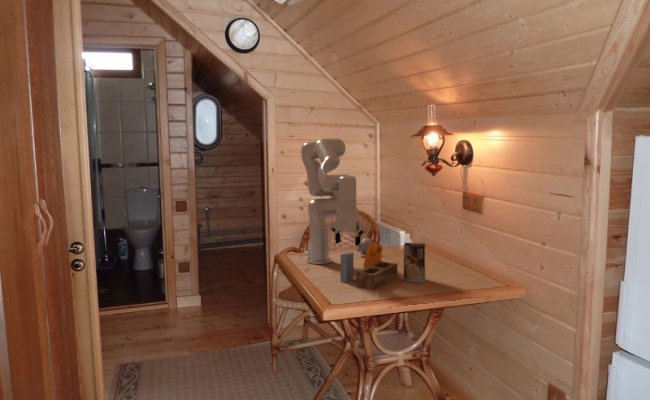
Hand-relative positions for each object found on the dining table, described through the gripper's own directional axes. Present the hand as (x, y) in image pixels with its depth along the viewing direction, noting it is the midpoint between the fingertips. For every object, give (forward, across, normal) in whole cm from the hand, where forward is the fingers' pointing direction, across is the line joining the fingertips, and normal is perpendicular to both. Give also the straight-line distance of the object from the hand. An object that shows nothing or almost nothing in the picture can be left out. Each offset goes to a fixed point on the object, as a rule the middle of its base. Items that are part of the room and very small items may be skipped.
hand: (347, 244), depth 218 cm
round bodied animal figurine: (+16, -17, +47) cm, 52 cm away
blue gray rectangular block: (+16, -1, +1) cm, 16 cm away
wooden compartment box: (+16, +11, +6) cm, 21 cm away
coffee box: (+17, +24, +16) cm, 34 cm away
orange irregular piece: (+16, +2, +24) cm, 29 cm away
